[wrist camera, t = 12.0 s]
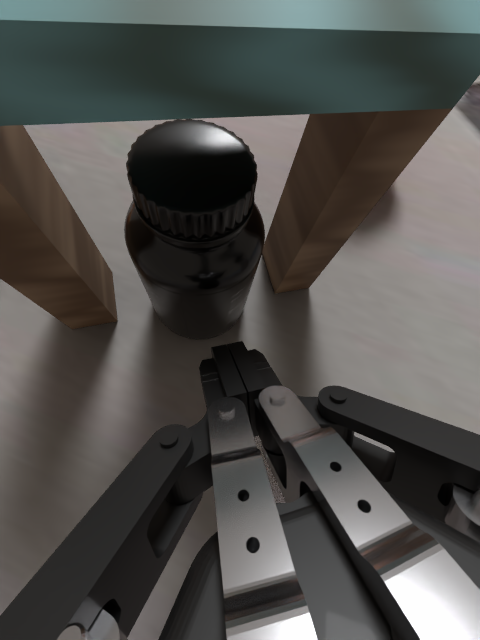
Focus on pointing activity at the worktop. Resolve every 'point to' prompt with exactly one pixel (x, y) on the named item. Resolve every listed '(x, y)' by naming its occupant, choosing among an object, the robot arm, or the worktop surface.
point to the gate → (222, 113)
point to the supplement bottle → (194, 224)
